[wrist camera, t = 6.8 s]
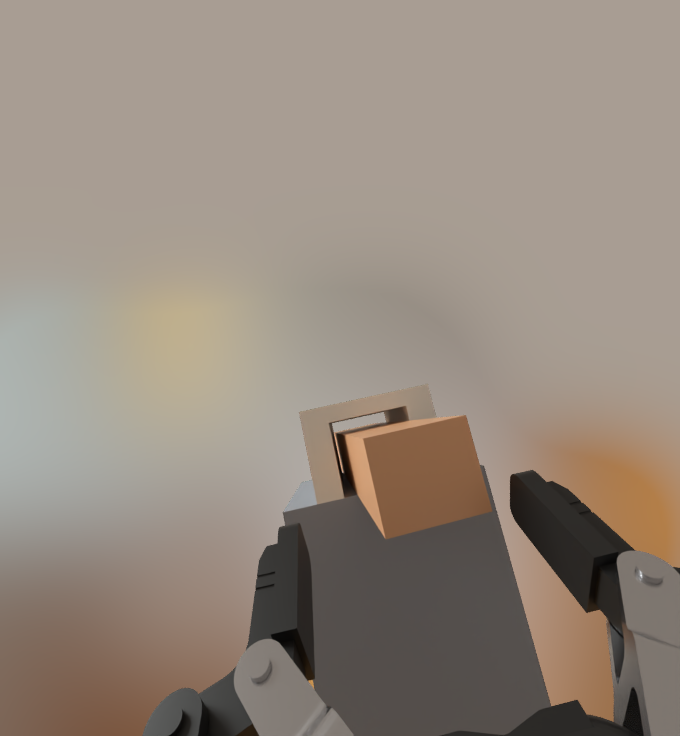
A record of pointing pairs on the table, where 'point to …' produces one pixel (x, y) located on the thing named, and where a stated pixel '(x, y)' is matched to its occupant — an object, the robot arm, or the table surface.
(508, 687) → the socket post
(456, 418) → the plug
